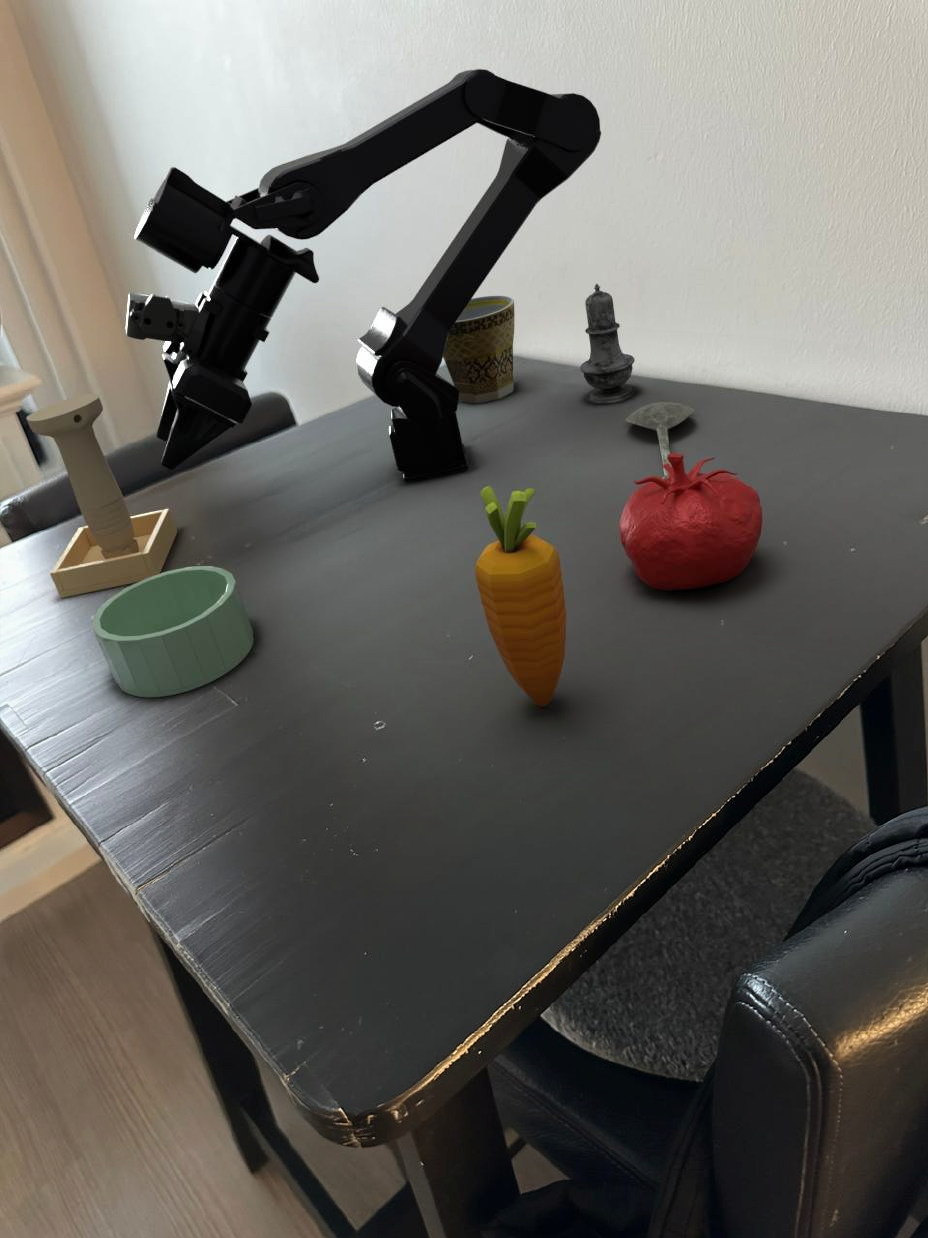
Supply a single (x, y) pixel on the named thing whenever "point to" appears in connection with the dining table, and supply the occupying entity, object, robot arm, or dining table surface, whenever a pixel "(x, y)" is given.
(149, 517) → the tray
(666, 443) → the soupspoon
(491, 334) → the ceramic cup
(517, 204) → the robot arm
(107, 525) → the handle
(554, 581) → the carrot
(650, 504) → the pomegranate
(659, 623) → the dining table surface
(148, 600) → the green bowl
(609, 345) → the salt shaker
